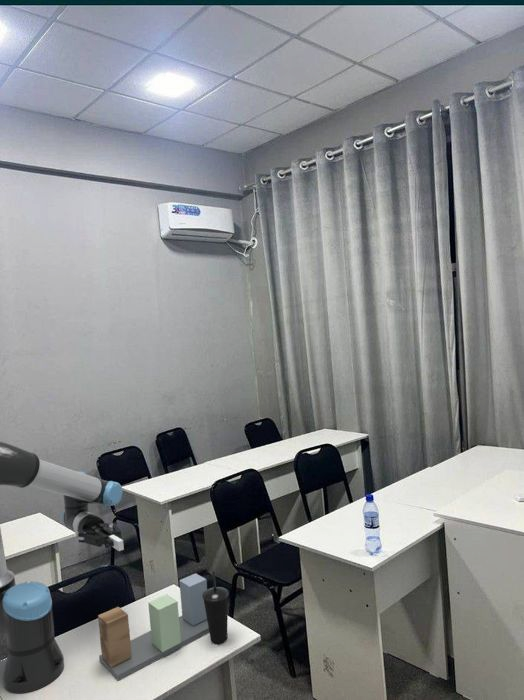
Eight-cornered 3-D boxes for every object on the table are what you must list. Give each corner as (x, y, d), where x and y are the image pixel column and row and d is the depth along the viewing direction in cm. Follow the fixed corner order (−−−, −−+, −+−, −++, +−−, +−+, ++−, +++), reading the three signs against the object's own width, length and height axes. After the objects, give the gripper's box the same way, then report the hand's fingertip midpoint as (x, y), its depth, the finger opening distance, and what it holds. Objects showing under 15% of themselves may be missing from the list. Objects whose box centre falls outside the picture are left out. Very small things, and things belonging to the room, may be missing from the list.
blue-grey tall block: (182, 618, 160) (179, 580, 159) (198, 610, 164) (195, 573, 163) (193, 625, 155) (189, 586, 155) (209, 617, 159) (206, 579, 159)
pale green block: (151, 643, 148) (148, 602, 147) (170, 634, 152) (166, 594, 151) (162, 652, 143) (158, 609, 143) (181, 642, 147) (177, 601, 147)
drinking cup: (220, 650, 145) (214, 580, 144) (200, 642, 150) (194, 574, 149) (237, 636, 151) (232, 569, 150) (218, 628, 156) (212, 563, 155)
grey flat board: (99, 660, 145) (99, 655, 145) (195, 613, 165) (195, 609, 165) (118, 680, 135) (117, 675, 135) (217, 628, 156) (217, 623, 156)
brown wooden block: (101, 657, 143) (97, 615, 143) (122, 647, 147) (118, 606, 146) (111, 667, 138) (107, 623, 138) (131, 656, 142) (127, 614, 142)
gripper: (109, 531, 171) (142, 550, 153) (69, 544, 163) (100, 566, 145) (107, 508, 171) (140, 526, 153) (67, 520, 162) (98, 540, 144)
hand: (121, 545), depth 149 cm, fingers closed
